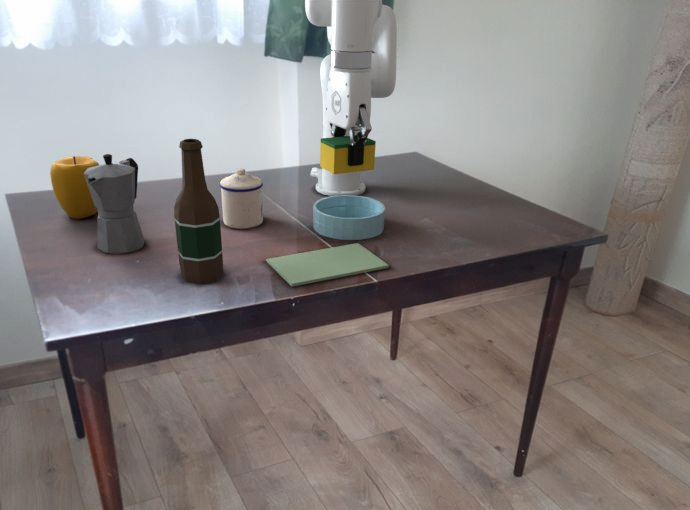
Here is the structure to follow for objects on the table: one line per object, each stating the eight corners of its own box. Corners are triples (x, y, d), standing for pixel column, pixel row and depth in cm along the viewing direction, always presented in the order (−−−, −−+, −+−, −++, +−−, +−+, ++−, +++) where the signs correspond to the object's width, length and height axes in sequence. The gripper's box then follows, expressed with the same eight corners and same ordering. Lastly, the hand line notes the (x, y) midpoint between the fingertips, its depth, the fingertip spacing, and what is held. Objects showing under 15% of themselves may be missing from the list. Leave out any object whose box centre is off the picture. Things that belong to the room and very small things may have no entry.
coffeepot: (123, 261, 120) (108, 165, 110) (81, 254, 122) (62, 160, 113) (164, 233, 132) (154, 145, 123) (125, 227, 135) (112, 141, 125)
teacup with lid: (271, 224, 138) (270, 171, 132) (234, 232, 133) (231, 178, 127) (244, 209, 146) (242, 158, 140) (209, 216, 142) (205, 164, 135)
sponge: (333, 174, 121) (334, 145, 118) (319, 166, 126) (320, 138, 123) (374, 169, 125) (375, 141, 122) (359, 162, 129) (360, 134, 126)
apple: (111, 220, 138) (101, 161, 131) (58, 225, 135) (46, 165, 128) (107, 204, 147) (98, 148, 140) (58, 209, 144) (46, 152, 137)
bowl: (299, 231, 135) (299, 208, 132) (337, 212, 145) (338, 190, 143) (360, 247, 128) (361, 224, 125) (396, 226, 138) (397, 204, 136)
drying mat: (291, 286, 112) (291, 283, 111) (266, 261, 121) (266, 258, 120) (388, 268, 119) (388, 265, 119) (357, 245, 128) (358, 242, 128)
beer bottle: (182, 266, 118) (169, 134, 105) (224, 266, 119) (216, 134, 106) (178, 285, 111) (162, 146, 99) (222, 284, 112) (213, 146, 100)
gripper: (311, 56, 120) (311, 152, 130) (355, 67, 107) (351, 174, 116) (346, 55, 123) (343, 149, 132) (393, 66, 110) (386, 170, 119)
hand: (347, 160), depth 124 cm, fingers closed on sponge, 6 cm apart
